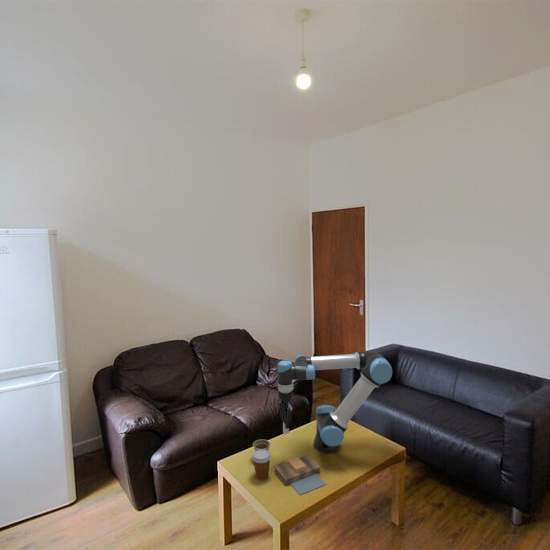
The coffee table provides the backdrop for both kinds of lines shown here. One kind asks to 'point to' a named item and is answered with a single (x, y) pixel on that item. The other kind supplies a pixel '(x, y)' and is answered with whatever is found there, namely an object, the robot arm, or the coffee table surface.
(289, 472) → the brown flat slab
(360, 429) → the coffee table surface
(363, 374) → the robot arm
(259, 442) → the clear plastic cup
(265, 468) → the disposable coffee cup
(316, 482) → the mat
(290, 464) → the orange brown flat block
